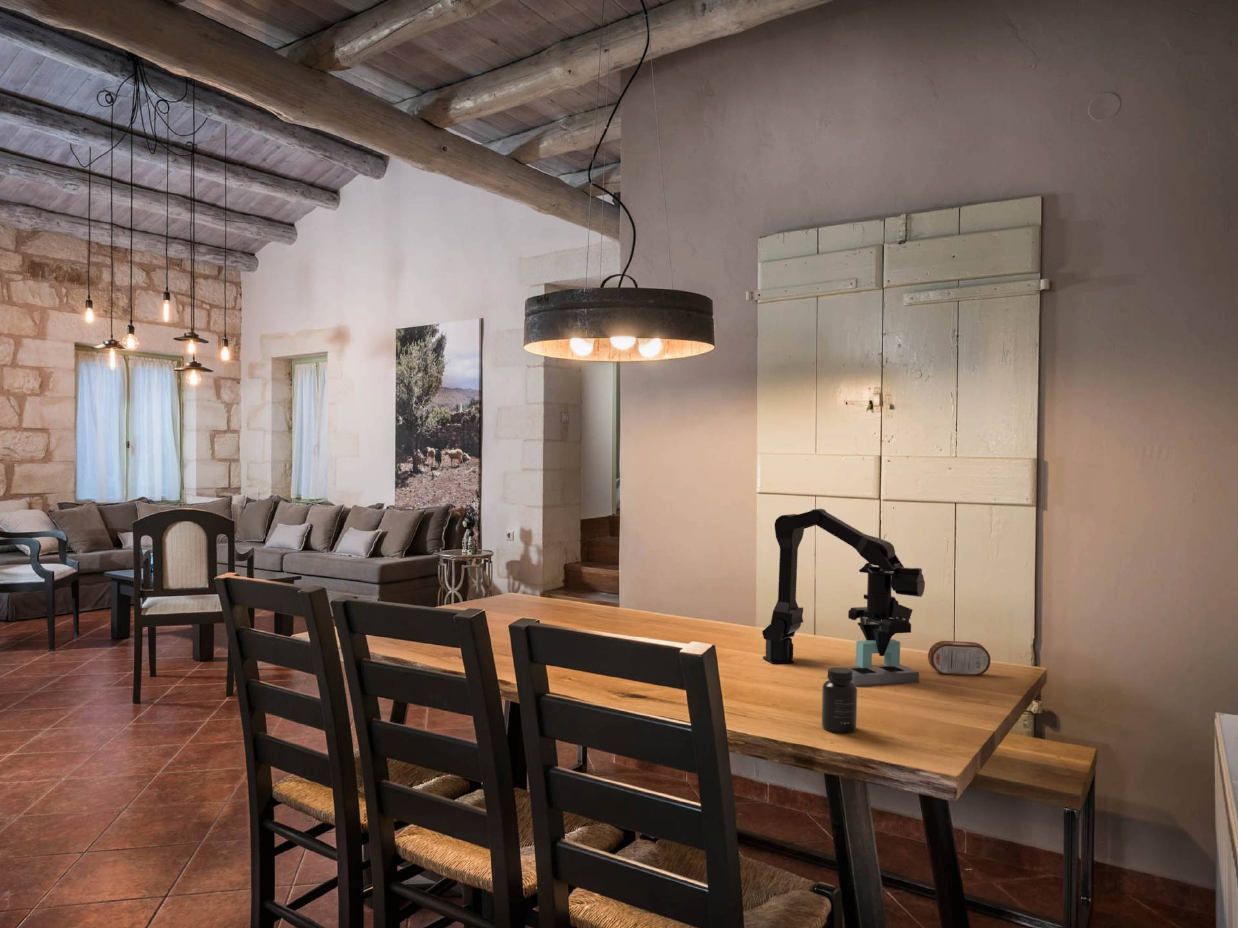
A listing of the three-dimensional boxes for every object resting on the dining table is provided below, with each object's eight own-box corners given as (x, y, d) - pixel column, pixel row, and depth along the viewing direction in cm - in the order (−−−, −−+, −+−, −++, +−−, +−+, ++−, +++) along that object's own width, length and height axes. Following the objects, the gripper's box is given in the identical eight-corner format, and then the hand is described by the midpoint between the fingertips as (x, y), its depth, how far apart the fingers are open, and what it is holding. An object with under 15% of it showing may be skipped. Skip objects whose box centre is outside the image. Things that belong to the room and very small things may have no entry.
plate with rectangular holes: (854, 686, 193) (854, 676, 193) (836, 677, 200) (837, 667, 200) (918, 681, 197) (919, 671, 197) (899, 673, 205) (899, 663, 205)
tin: (987, 674, 206) (988, 641, 206) (991, 677, 203) (992, 644, 203) (927, 671, 208) (927, 639, 208) (930, 674, 205) (931, 642, 204)
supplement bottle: (816, 723, 165) (818, 665, 165) (848, 722, 166) (850, 665, 166) (828, 734, 158) (829, 674, 158) (861, 734, 159) (863, 674, 159)
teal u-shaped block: (862, 668, 196) (863, 643, 196) (855, 664, 199) (856, 640, 199) (899, 665, 199) (900, 641, 199) (892, 662, 202) (893, 639, 202)
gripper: (931, 597, 192) (929, 662, 192) (885, 584, 210) (883, 644, 210) (890, 598, 189) (889, 664, 189) (847, 585, 207) (846, 645, 207)
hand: (877, 654), depth 199 cm, fingers closed on teal u-shaped block, 3 cm apart
